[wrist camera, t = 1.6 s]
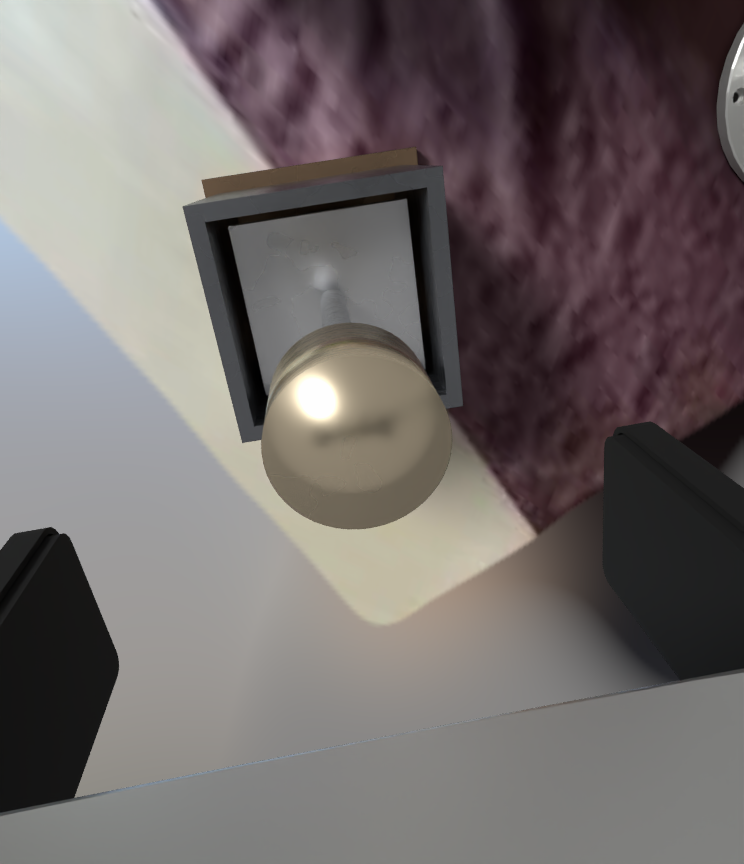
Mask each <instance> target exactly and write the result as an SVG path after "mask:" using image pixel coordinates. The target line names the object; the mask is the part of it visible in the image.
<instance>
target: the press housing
mask: <svg viewBox="0 0 744 864" xmlns="http://www.w3.org/2000/svg"><path fill="white" fill-rule="evenodd" d="M202 184H203V188H204V193H205V197H206V198H205V199H202V200H199V201H197V202H194V203H191V204H188V205H185V206H183V210H184V214H185V218H186V222H187V226H188V230H189V234H190V238H191V241H192V245H193V249H194V253H195V257H196V261H197V265H198V269H199V273H200V277H201V281H202V285H203V289H204V293H205V297H206V301H207V305H208V309H209V313H210V317H211V321H212V325H213V329H214V332H215V336H216V340H217V344H218V348H219V352H220V356H221V360H222V364H223V368H224V372H225V376H226V380H227V384H228V388H229V392H230V396H231V400H232V404H233V408H234V412H235V416H236V420H237V424H238V427H239V431H240V435H241V439H242V443H245V442H251V441H257V440H262V432H263V426H264V420H265V414H266V408H267V402H268V396H269V395H266V392H265V388H264V383H263V379H262V375H261V370H260V366H259V361H258V357H257V353H256V348H255V344H254V339H253V335H252V331H251V326H250V322H249V317H248V313H247V308H246V304H245V300H244V295H243V291H242V286H241V282H240V278H239V273H238V269H237V264H236V260H235V256H234V251H233V247H232V242H231V238H230V234H229V229H228V227H229V226H230V225H235V224H241V223H248V222H254V221H260V220H267V219H273V218H279V217H286V216H292V215H298V214H305V213H311V212H318V211H324V210H330V209H337V208H343V207H349V206H356V205H362V204H368V203H375V202H381V201H388V200H394V199H400V198H406V199H407V205H408V214H409V223H410V232H411V241H412V251H413V260H414V269H415V278H416V287H417V296H418V305H419V314H420V323H421V332H422V342H423V351H424V360H425V369H424V370H425V371H426V373H427V375H428V377H429V379H430V380H431V382H432V384H433V386H434V388H435V389H436V391H437V393H438V395H439V396H440V398H441V400H442V402H443V404H444V406H445V408H446V409H448V408H454V407H459V406H463V400H462V388H461V376H460V364H459V353H458V341H457V329H456V318H455V306H454V294H453V283H452V271H451V259H450V248H449V236H448V224H447V213H446V201H445V189H444V178H443V166H429V165H418V162H417V152H416V147H412V148H405V149H399V150H392V151H386V152H379V153H373V154H367V155H360V156H354V157H347V158H341V159H334V160H328V161H321V162H315V163H308V164H302V165H295V166H289V167H283V168H276V169H270V170H263V171H257V172H250V173H244V174H237V175H231V176H224V177H218V178H212V179H205V180H202Z"/></svg>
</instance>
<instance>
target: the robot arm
mask: <svg viewBox="0 0 744 864" xmlns="http://www.w3.org/2000/svg"><path fill="white" fill-rule="evenodd" d="M733 95H734V99H733ZM717 126H718V132H719V136H720V141H721V145H722V149H723V151H724V153H725V155H726V157H727V160H728V162H729V164H730V166H731V167H732V169H733V170H734V171H735V172H736V174H737V175H738V176H739V177H740V179H741V180H742V181H743V182H744V24H743V25H742V27H741V28H740V30H739V32H738V33H737V35H736V37H735V40H734V42H733V44H732V46H731V49H730V51H729V53H728V55H727V58H726V61H725V65H724V68H723V72H722V75H721V79H720V82H719V91H718V99H717ZM603 510H604V512H603V569H604V573H605V576H606V579H607V581H608V583H609V584H610V586H611V587H612V589H613V590H614V591H615V592H616V594H617V595H618V597H619V598H620V599H621V601H622V602H623V603H624V605H625V606H626V608H627V609H628V610H629V612H630V613H631V614H632V616H633V617H634V618H635V620H636V621H637V622H638V624H639V625H640V627H641V628H642V629H643V630H644V632H645V633H646V635H647V636H648V637H649V639H650V640H651V641H652V643H653V644H654V646H655V647H656V648H657V650H658V651H659V652H660V653H661V655H662V656H663V657H664V659H665V660H666V662H667V663H668V664H669V666H670V667H671V669H672V670H673V671H674V673H675V674H676V675H677V676H678V678H679V679H680V680H679V681H674V682H669V683H664V684H658V685H653V686H648V687H643V688H637V689H632V690H627V691H621V692H616V693H611V694H606V695H600V696H595V697H590V698H584V699H579V700H574V701H568V702H563V703H558V704H552V705H547V706H542V707H536V708H531V709H526V710H521V711H516V712H510V713H505V714H500V715H495V716H489V717H484V718H479V719H473V720H468V721H463V722H458V723H453V724H448V725H443V726H437V727H432V728H427V729H422V730H416V731H412V732H406V733H401V734H396V735H391V736H385V737H380V738H375V739H370V740H365V741H360V742H355V743H350V744H344V745H340V746H334V747H329V748H324V749H319V750H314V751H309V752H303V753H298V754H293V755H288V756H283V757H278V758H273V759H268V760H263V761H257V762H252V763H247V764H242V765H237V766H232V767H227V768H223V769H217V770H212V771H207V772H202V773H198V774H192V775H187V776H182V777H177V778H172V779H167V780H162V781H157V782H152V783H147V784H142V785H137V786H132V787H127V788H122V789H117V790H112V791H107V792H102V793H97V794H92V795H87V796H82V797H77V798H74V797H75V794H76V791H77V788H78V786H79V783H80V780H81V777H82V774H83V771H84V769H85V766H86V763H87V760H88V757H89V755H90V752H91V749H92V746H93V743H94V740H95V738H96V735H97V732H98V729H99V727H100V724H101V721H102V718H103V715H104V713H105V710H106V707H107V704H108V701H109V698H110V696H111V693H112V690H113V687H114V685H115V682H116V679H117V676H118V671H119V661H118V655H117V652H116V649H115V647H114V644H113V642H112V639H111V637H110V635H109V632H108V630H107V627H106V625H105V622H104V620H103V618H102V615H101V613H100V610H99V608H98V605H97V603H96V600H95V598H94V595H93V593H92V590H91V588H90V586H89V583H88V581H87V578H86V576H85V573H84V571H83V569H82V566H81V564H80V561H79V559H78V556H77V554H76V551H75V549H74V547H73V544H72V542H71V540H70V538H69V537H68V536H67V535H66V534H59V533H58V532H57V531H56V530H55V529H54V528H51V527H49V528H44V529H38V530H32V531H26V532H21V533H15V534H14V535H12V536H11V537H10V539H9V540H8V541H7V543H6V544H5V545H4V547H3V548H2V549H1V550H0V864H744V488H743V487H741V486H740V485H738V484H737V483H736V482H734V481H733V480H732V479H730V478H729V477H727V476H726V475H725V474H723V473H722V472H721V471H719V470H718V469H717V468H715V467H714V466H712V465H711V464H710V463H708V462H707V461H705V460H704V459H703V458H701V457H700V456H699V455H697V454H696V453H695V452H693V451H692V450H690V449H689V448H688V447H686V446H685V445H684V444H682V443H681V442H680V441H678V440H677V439H675V438H674V437H673V436H671V435H670V434H669V433H667V432H666V431H664V430H663V429H662V428H660V427H659V426H658V425H656V424H655V423H653V422H645V423H639V424H633V425H628V426H622V427H617V428H616V429H615V431H614V434H613V436H612V437H608V438H607V439H606V441H605V447H604V506H603Z"/></svg>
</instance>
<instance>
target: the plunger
mask: <svg viewBox="0 0 744 864" xmlns="http://www.w3.org/2000/svg"><path fill="white" fill-rule="evenodd" d="M228 229H229V234H230V238H231V242H232V247H233V251H234V256H235V260H236V264H237V269H238V273H239V278H240V282H241V286H242V291H243V295H244V300H245V304H246V308H247V313H248V317H249V322H250V326H251V331H252V335H253V339H254V344H255V348H256V353H257V357H258V361H259V366H260V370H261V375H262V379H263V383H264V388H265V392H266V395H269V396H268V402H267V408H266V414H265V420H264V426H263V432H262V440H261V449H262V458H263V464H264V467H265V470H266V474H267V476H268V478H269V480H270V482H271V484H272V486H273V487H274V489H275V490H276V492H277V493H278V495H279V496H280V497H281V498H282V499H283V500H284V501H285V503H287V504H288V505H289V506H290V507H291V508H292V509H294V510H295V511H296V512H298V513H299V514H301V515H302V516H304V517H306V518H308V519H310V520H312V521H314V522H317V523H320V524H323V525H326V526H330V527H334V528H341V529H366V528H373V527H377V526H381V525H385V524H388V523H390V522H393V521H396V520H398V519H400V518H402V517H404V516H406V515H407V514H409V513H410V512H412V511H413V510H415V509H416V508H417V507H419V506H420V505H421V504H422V503H423V502H424V501H425V500H426V499H427V498H428V497H429V496H430V495H431V494H432V493H433V491H434V490H435V489H436V487H437V486H438V485H439V483H440V481H441V479H442V478H443V476H444V474H445V471H446V469H447V466H448V463H449V459H450V455H451V448H452V430H451V424H450V420H449V417H448V413H447V410H446V408H445V406H444V404H443V402H442V400H441V398H440V396H439V395H438V393H437V391H436V389H435V388H434V386H433V384H432V382H431V380H430V379H429V377H428V375H427V373H426V371H425V370H424V369H425V360H424V351H423V342H422V332H421V323H420V314H419V305H418V296H417V287H416V278H415V269H414V260H413V251H412V241H411V232H410V223H409V214H408V205H407V199H406V198H400V199H394V200H388V201H381V202H375V203H368V204H362V205H356V206H349V207H343V208H337V209H330V210H324V211H318V212H311V213H305V214H298V215H292V216H286V217H279V218H273V219H267V220H260V221H254V222H248V223H241V224H235V225H230V226H229V227H228Z"/></svg>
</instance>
